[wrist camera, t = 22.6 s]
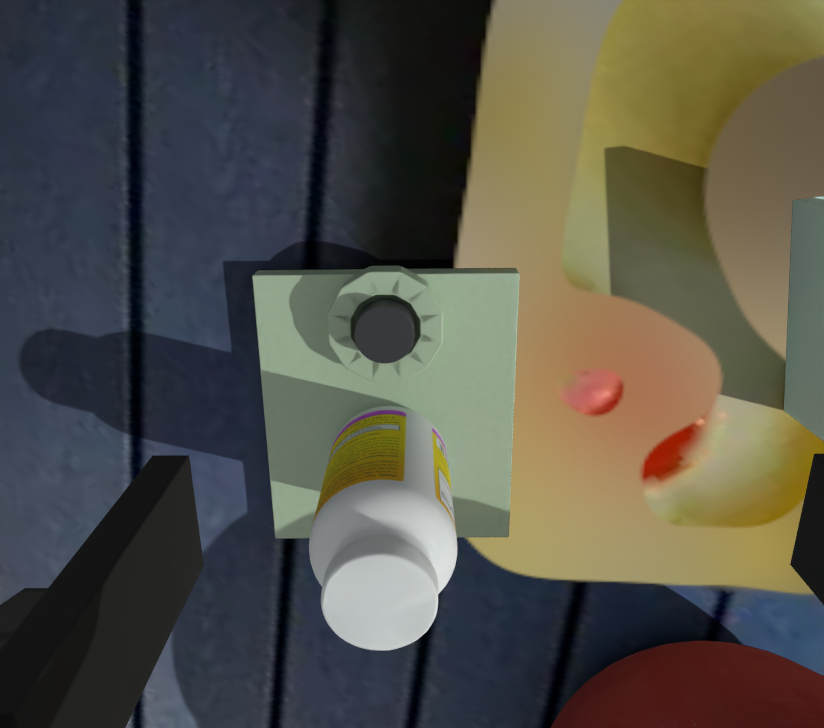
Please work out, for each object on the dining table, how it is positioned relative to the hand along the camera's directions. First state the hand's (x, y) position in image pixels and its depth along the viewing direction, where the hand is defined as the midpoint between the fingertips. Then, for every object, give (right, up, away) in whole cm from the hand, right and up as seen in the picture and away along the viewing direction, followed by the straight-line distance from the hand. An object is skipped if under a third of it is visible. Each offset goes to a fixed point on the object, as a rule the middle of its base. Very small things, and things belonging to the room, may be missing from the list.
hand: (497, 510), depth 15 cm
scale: (-3, +1, +25) cm, 25 cm away
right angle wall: (+25, +7, +23) cm, 34 cm away
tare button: (-3, +5, +21) cm, 21 cm away
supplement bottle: (-3, -2, +25) cm, 25 cm away
